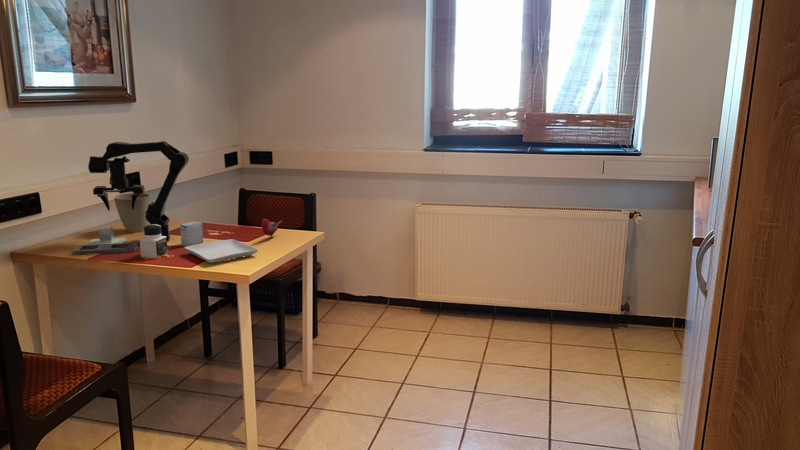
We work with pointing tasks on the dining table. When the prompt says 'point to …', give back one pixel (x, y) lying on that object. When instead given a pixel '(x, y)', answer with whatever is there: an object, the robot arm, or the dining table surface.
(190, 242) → the medicine box
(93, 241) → the sage mat
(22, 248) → the dining table surface
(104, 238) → the steel peg
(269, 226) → the decorative bird figurine
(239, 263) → the dining table surface
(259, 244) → the dining table surface
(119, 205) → the plant pot
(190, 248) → the salad plate
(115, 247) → the grey flat frame
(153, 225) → the medicine bottle
